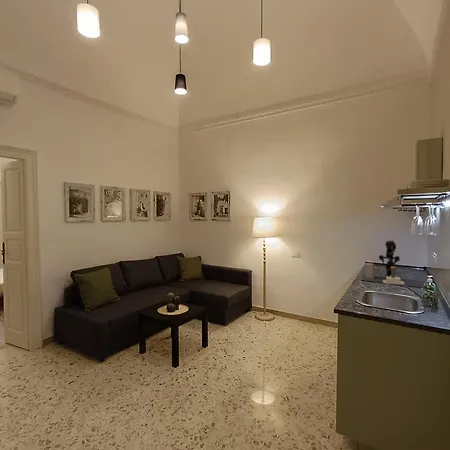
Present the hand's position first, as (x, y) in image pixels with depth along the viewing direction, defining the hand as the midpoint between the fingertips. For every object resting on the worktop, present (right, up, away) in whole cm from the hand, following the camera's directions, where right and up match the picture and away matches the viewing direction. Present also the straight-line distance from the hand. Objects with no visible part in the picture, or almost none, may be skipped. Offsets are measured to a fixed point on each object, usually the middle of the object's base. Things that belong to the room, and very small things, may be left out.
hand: (388, 265), depth 300 cm
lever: (-2, -10, -11) cm, 15 cm away
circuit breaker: (-10, -15, +14) cm, 23 cm away
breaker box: (-1, -16, -10) cm, 19 cm away
